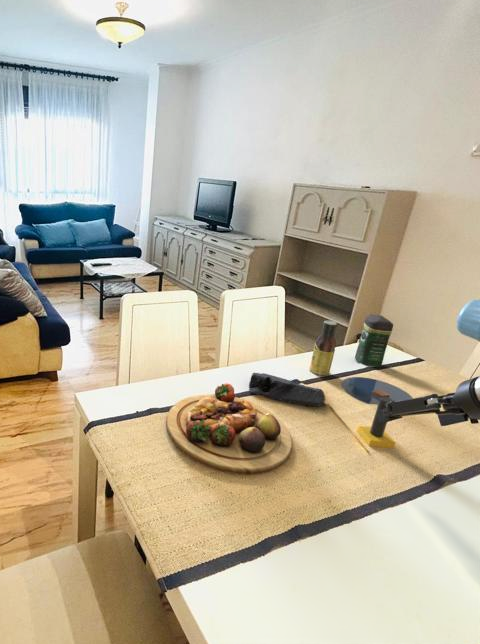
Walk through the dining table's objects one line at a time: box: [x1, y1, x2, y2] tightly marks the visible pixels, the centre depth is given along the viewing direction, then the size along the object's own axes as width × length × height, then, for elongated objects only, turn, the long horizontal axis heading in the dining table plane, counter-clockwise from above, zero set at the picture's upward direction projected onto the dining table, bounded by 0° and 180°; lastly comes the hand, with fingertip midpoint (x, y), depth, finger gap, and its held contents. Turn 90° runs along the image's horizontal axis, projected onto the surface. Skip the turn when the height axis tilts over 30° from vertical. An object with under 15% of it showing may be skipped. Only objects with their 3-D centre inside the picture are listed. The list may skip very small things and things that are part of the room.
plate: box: [340, 376, 414, 406], centre depth 122 cm, size 20×20×1 cm
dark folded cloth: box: [248, 372, 326, 407], centre depth 121 cm, size 15×22×5 cm
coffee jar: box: [354, 313, 394, 368], centre depth 141 cm, size 10×8×19 cm
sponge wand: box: [354, 397, 396, 453], centre depth 96 cm, size 6×6×14 cm
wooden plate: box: [165, 382, 293, 475], centre depth 100 cm, size 32×32×8 cm
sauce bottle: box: [309, 320, 338, 377], centre depth 131 cm, size 6×6×20 cm
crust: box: [372, 390, 390, 398], centre depth 120 cm, size 3×3×1 cm
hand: (409, 418), depth 86 cm, fingers open, 13 cm apart
